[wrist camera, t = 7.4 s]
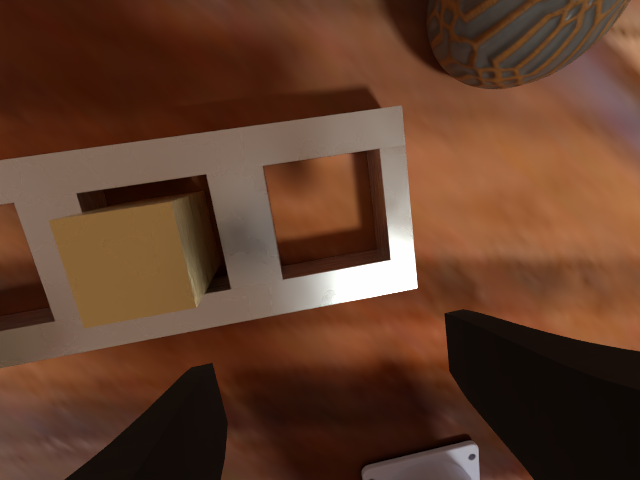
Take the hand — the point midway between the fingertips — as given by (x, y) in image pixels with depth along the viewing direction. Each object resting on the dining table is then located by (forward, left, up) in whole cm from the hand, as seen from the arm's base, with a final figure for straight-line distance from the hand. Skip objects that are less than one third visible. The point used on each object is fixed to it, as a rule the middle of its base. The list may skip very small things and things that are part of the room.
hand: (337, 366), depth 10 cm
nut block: (+3, +7, -9) cm, 12 cm away
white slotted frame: (+4, +7, -9) cm, 12 cm away
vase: (+11, -10, -10) cm, 18 cm away
